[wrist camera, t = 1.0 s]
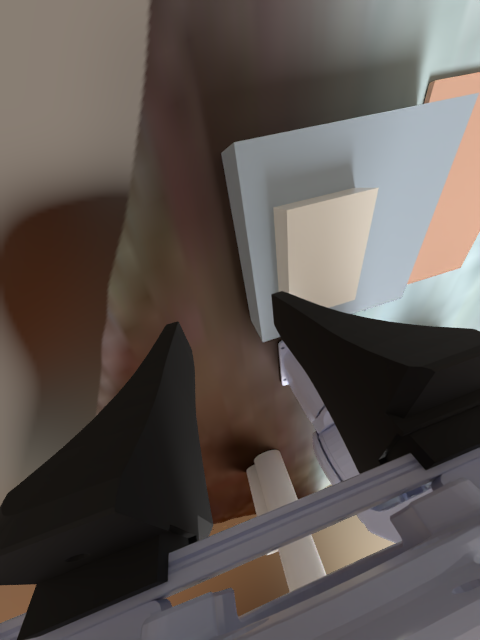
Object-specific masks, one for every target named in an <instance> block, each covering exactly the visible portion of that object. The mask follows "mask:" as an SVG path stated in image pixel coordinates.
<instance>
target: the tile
mask: <svg viewBox="0 0 480 640" xmlns="http://www.w3.org/2000/svg"><path fill="white" fill-rule="evenodd" d="M378 189H379V188H351V189H347V190H343V191H339V192H335V193H330V194H326V195H322V196H318V197H314V198H310V199H306V200H302V201H298V202H294V203H289V204H285V205H281V206H277V207H273V211H274V227H275V243H276V259H277V274H278V290H279V292H280V291H284V292H287V293H290V294H292V295H295V296H297V297H300V298H302V299H305V300H307V301H310V302H313V303H315V304H318V305H321V306H324V307H327V308H330V307H333V306H336V305H340V304H343V303H346V302H349V301H352V300H355V298H356V293H357V288H358V283H359V279H360V274H361V269H362V264H363V260H364V255H365V250H366V245H367V241H368V236H369V231H370V227H371V222H372V217H373V212H374V208H375V203H376V198H377V193H378Z"/></svg>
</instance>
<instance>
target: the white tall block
mask: <svg viewBox="0 0 480 640" xmlns="http://www.w3.org/2000/svg"><path fill="white" fill-rule="evenodd" d="M254 463H255V465H252V466H251V467H249V468H248V469H247V471H246V472H247V476H248V480H249V484H250V489H251V493H252V497H253V501H254V505H255V510H256V514H257V517H258V516H260V515H262V514H265V513H267V512H270V511H272V510H274V509H277V508H279V507H282V506H284V505H286V504H289V503H291V502H294V501H296V500H298V499H297V496H296V494H295V491H294V488H293V486H292V483H291V480H290V478H289V475H288V472H287V470H286V467H285V465H284V462H283V459H282V457H281V454H280V451H278V450H270V451H266V452H264V453H262V454H260V455H258V456H257V457H256V458H255V459H254ZM277 551H279V554H280V558H281V561H282V565H283V569H284V572H285V576H286V580H287V584H288V587H289V591H290V592H291V591H293V590H295V589H297V588H300V587H302V586H304V585H306V584H308V583H310V582H312V581H314V580H317V579H319V578H321V577H323V576H325V575H326V572H325V570H324V567H323V565H322V562H321V559H320V557H319V554H318V551H317V549H316V546H315V543H314V541H313V538H312V536H311V535H309V536H306V537H304V538H302V539H300V540H297V541H295V542H293V543H290V544H288V545H286V546H284V547H281V548H279V549H277V550H274V551H272V552H270V553H268V554H266V555H270V554H272V553H275V552H277Z"/></svg>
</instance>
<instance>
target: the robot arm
mask: <svg viewBox="0 0 480 640" xmlns="http://www.w3.org/2000/svg"><path fill="white" fill-rule="evenodd" d="M271 297H272V308H273V320H274V326H275V327H276V329H277V331H278V333H279V335H280V337H281V339H282V341H280V342H279V343H278V347H279V360H280V373H281V383H282V385H287V384H289V386H290V387H291V389H292V391H293V393H294V395H295V396H296V398H297V400H298V402H299V404H300V405H301V407H302V409H303V411H304V412H305V414H306V416H307V417H308V419H309V420H310V421H311V422H312V424H313V426H314V428H315V429H316V432H314V433H313V449H314V452H315V455H316V457H317V460H318V462H319V464H320V466H321V468H322V470H323V471H324V473H325V475H326V476H327V478H328V479H329V481H330V482H331V484H332V486H330V487H327V488H325V489H323V490H320V491H318V492H315V493H313V494H311V495H308V496H306V497H303V498H301V499H298V500H296V501H294V502H291V503H289V504H286V505H284V506H282V507H279V508H277V509H274V510H272V511H270V512H267V513H265V514H262V515H260V516H258V517H255V518H253V519H250V520H248V521H245V522H243V523H241V524H238V525H236V526H234V527H232V528H229V529H226V530H224V531H221V532H219V533H217V534H214V535H212V536H209V534H210V532H211V530H212V527H213V521H212V516H211V510H210V504H209V499H208V493H207V487H206V481H205V475H204V469H203V463H202V456H201V449H200V442H199V435H198V427H197V419H196V407H195V370H194V361H193V355H192V350H191V347H190V345H189V343H188V341H187V339H186V337H185V334H184V332H183V330H182V328H181V326H180V324H179V322H174V323H171V324H167V325H166V326H165V328H164V329H163V331H162V333H161V334H160V336H159V338H158V339H157V341H156V342H155V344H154V346H153V347H152V349H151V350H150V352H149V354H148V355H147V356H146V358H145V359H144V361H143V362H142V363H141V365H140V366H139V368H138V369H137V371H136V372H135V373H134V375H133V376H132V377H131V378H130V380H129V381H128V382H127V383H126V384H125V386H124V387H123V388H122V389H121V390H120V391H119V393H118V394H117V395H116V396H115V397H114V398H113V399H112V400H111V401H110V402H109V403H108V404H107V405H106V406H105V407H104V409H103V410H102V411H101V412H100V413H99V414H98V415H97V416H96V417H95V418H94V419H93V420H92V421H91V422H90V423H89V424H88V425H87V426H86V427H85V428H83V430H81V432H79V433H78V434H77V435H76V436H75V437H74V438H73V439H72V440H70V442H68V443H67V444H66V445H65V446H64V447H63V448H62V449H60V450H59V451H58V452H57V453H56V454H55V455H54V456H52V457H51V458H50V459H49V460H48V461H46V462H45V463H44V464H43V465H42V466H40V467H39V468H38V469H37V470H36V471H34V472H33V473H32V474H31V475H30V476H28V477H27V478H26V479H25V480H24V481H22V482H21V483H20V484H19V485H18V486H16V487H15V488H14V489H13V490H11V491H10V492H9V493H8V494H7V496H6V497H5V499H4V501H3V503H2V505H1V506H0V585H23V584H37V585H36V588H35V590H34V593H33V596H32V599H31V601H30V604H29V607H28V610H27V612H26V613H24V614H22V615H20V616H17V617H14V618H12V619H10V620H7V621H5V622H2V623H0V640H480V331H477V330H475V329H465V328H449V327H432V326H421V325H411V324H402V323H395V322H388V321H382V320H376V319H370V318H365V317H360V316H356V315H352V314H348V313H344V312H340V311H337V310H334V309H330V308H327V307H324V306H321V305H318V304H315V303H313V302H310V301H307V300H305V299H302V298H300V297H297V296H295V295H292V294H290V293H287V292H284V291H280V292H277V293H273V294H271ZM354 515H357V516H358V518H359V519H360V521H361V522H362V523H364V524H365V526H366V528H367V529H368V530H369V531H370V532H371V533H373V534H375V535H378V536H380V537H382V538H384V539H387V540H389V541H392V542H394V543H396V544H394V545H391V546H389V547H387V548H385V549H382V550H380V551H378V552H376V553H374V554H372V555H369V556H367V557H365V558H363V559H360V560H358V561H356V562H354V563H352V564H349V565H347V566H345V567H343V568H341V569H338V570H336V571H334V572H332V573H330V574H327V575H325V576H323V577H321V578H319V579H317V580H314V581H312V582H310V583H308V584H306V585H304V586H302V587H300V588H297V589H295V590H293V591H291V592H289V593H287V594H285V595H283V596H281V597H279V598H277V599H274V600H273V601H271V602H268V603H266V604H264V605H262V606H260V607H258V608H256V609H254V610H252V611H250V612H247V613H245V614H243V615H242V616H239V617H238V615H237V612H236V605H235V597H234V590H232V588H228V589H225V590H222V591H219V592H215V593H212V592H209V593H206V594H204V595H201V596H199V597H196V598H194V599H192V600H189V601H187V602H184V603H182V604H179V605H177V606H174V607H172V605H171V603H170V601H169V600H167V599H165V598H167V597H170V596H171V595H174V594H176V593H179V592H181V591H183V590H185V589H188V588H190V587H192V586H195V585H197V584H199V583H201V582H204V581H206V580H208V579H210V578H213V577H215V576H217V575H220V574H222V573H224V572H226V571H229V570H231V569H233V568H236V567H238V566H240V565H242V564H245V563H247V562H249V561H251V560H254V559H256V558H258V557H260V556H263V555H265V554H268V553H270V552H272V551H274V550H277V549H279V548H281V547H284V546H286V545H288V544H290V543H293V542H295V541H297V540H300V539H302V538H304V537H306V536H309V535H311V534H313V533H315V532H317V531H320V530H322V529H325V528H327V527H329V526H331V525H334V524H336V523H338V522H341V521H343V520H345V519H347V518H350V517H352V516H354ZM208 536H209V537H208Z"/></svg>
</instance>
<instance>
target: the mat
mask: <svg viewBox="0 0 480 640" xmlns="http://www.w3.org/2000/svg"><path fill="white" fill-rule="evenodd" d="M475 93H479V95H478V97H477V100H476V103H475V105H474V108H473V110H472V113H471V116H470V118H469V121H468V124H467V126H466V129H465V132H464V134H463V137H462V140H461V142H460V145H459V148H458V150H457V153H456V156H455V158H454V161H453V164H452V166H451V169H450V171H449V174H448V177H447V179H446V182H445V185H444V187H443V190H442V193H441V195H440V198H439V201H438V203H437V206H436V209H435V211H434V214H433V217H432V219H431V222H430V224H429V227H428V230H427V232H426V235H425V238H424V240H423V243H422V246H421V248H420V251H419V254H418V256H417V259H416V262H415V264H414V267H413V270H412V272H411V275H410V277H409V280H408V283H407V284H410V283H413V282H416V281H420V280H423V279H426V278H429V277H433V276H436V275H439V274H442V273H445V272H449V271H452V270H455V269H458V268H460V267H461V266H462V264H463V262H464V260H465V258H466V256H467V254H468V252H469V250H470V249H471V247H472V245H473V243H474V241H475V239H476V237H477V235H478V233H479V232H480V72H477V73H472V74H467V75H461V76H456V77H451V78H445V79H440V80H435V81H433V82H430V83H429V86H428V90H427V94H426V98H425V101H424V104H426V103H431V102H436V101H441V100H445V99H450V98H455V97H460V96H465V95H470V94H475Z"/></svg>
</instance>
